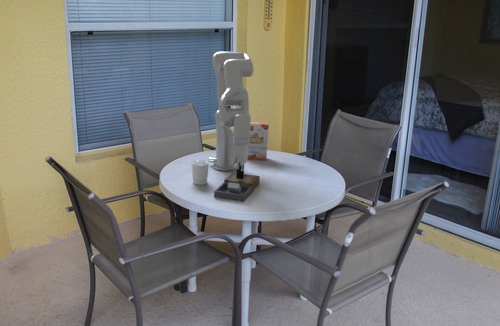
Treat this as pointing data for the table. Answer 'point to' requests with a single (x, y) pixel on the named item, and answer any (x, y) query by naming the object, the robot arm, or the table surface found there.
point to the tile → (234, 187)
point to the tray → (226, 194)
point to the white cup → (200, 172)
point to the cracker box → (258, 141)
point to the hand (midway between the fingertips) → (239, 178)
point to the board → (244, 180)
